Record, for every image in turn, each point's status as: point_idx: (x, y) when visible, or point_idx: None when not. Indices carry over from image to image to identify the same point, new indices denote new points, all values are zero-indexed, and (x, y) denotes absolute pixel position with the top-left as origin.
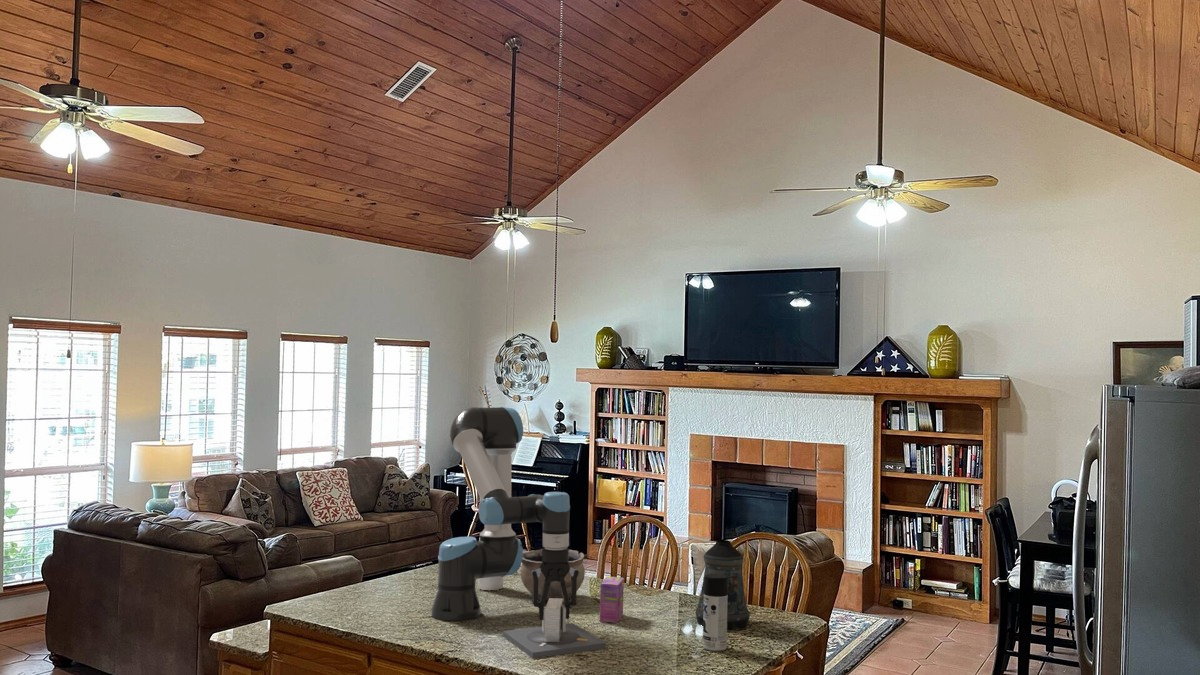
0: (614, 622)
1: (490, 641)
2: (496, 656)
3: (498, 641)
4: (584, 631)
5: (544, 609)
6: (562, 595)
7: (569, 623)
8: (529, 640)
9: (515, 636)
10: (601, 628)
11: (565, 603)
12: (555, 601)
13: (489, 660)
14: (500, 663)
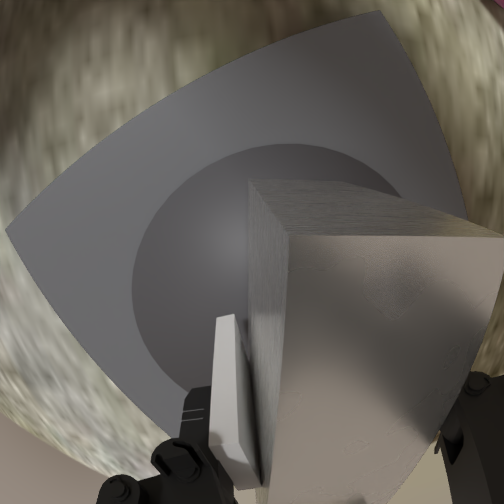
0: (499, 3)
1: (8, 301)
2: (102, 443)
3: (29, 300)
4: (450, 185)
5: (242, 487)
6: (482, 477)
7: (366, 16)
8: (167, 375)
9: (80, 318)
10: (480, 53)
11: (447, 462)
12: (382, 423)
13: (102, 462)
14: (140, 479)
